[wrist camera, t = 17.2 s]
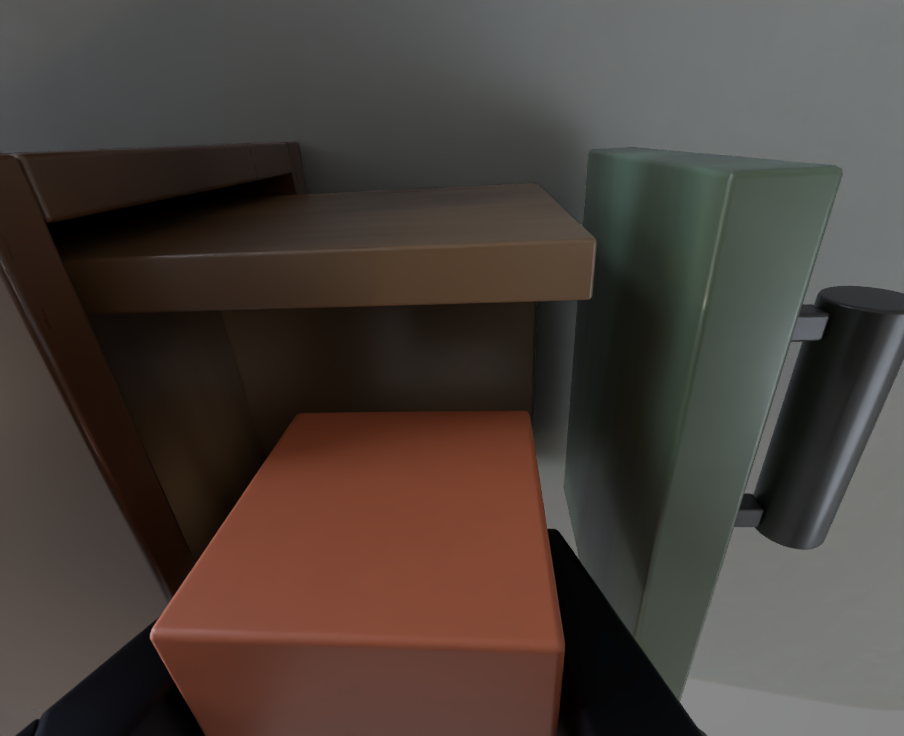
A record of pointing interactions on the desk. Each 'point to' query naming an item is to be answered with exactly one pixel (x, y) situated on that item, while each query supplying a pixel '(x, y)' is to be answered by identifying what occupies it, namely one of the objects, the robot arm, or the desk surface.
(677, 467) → the drawer
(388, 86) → the desk surface
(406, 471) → the block
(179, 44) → the desk surface
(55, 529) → the cabinet
